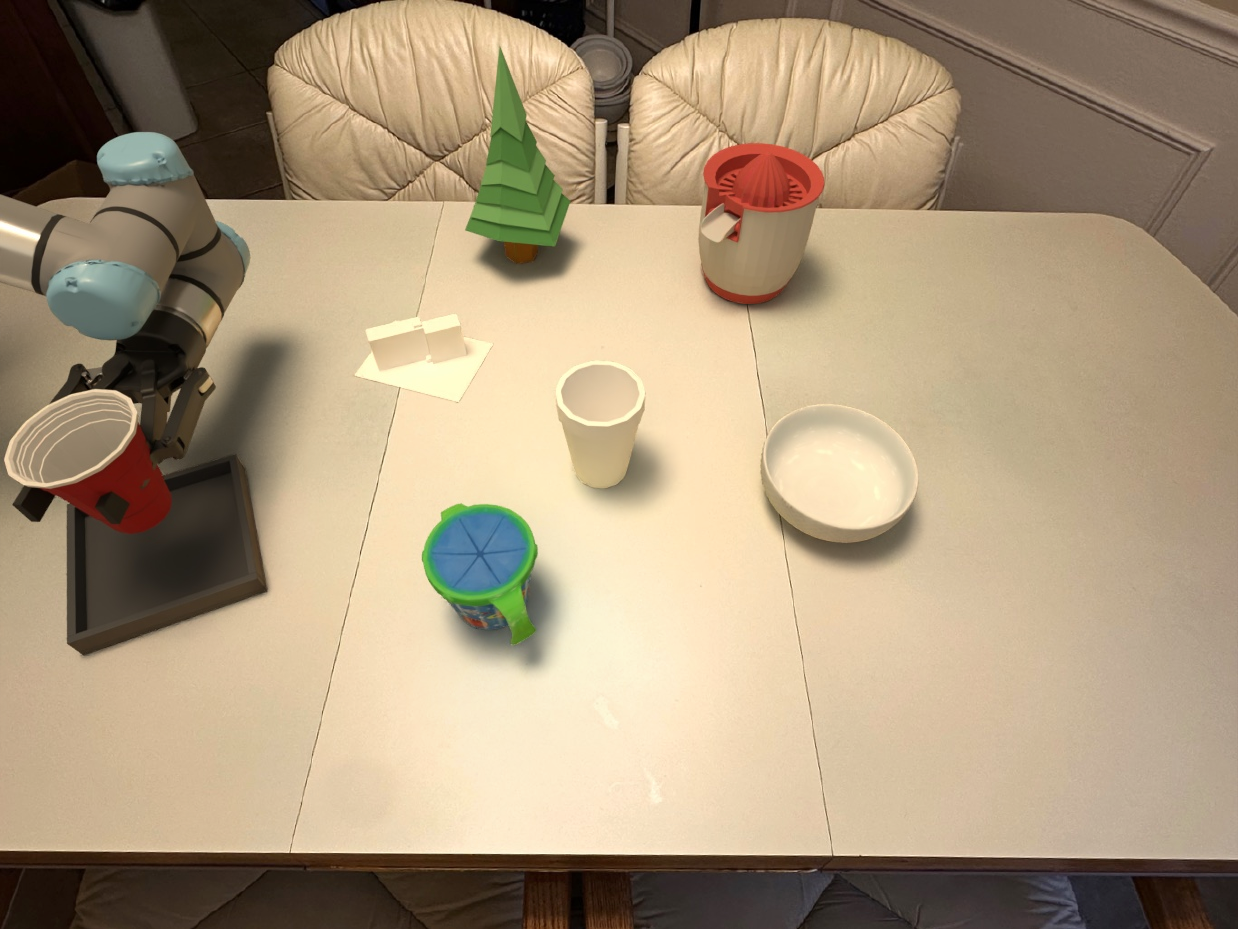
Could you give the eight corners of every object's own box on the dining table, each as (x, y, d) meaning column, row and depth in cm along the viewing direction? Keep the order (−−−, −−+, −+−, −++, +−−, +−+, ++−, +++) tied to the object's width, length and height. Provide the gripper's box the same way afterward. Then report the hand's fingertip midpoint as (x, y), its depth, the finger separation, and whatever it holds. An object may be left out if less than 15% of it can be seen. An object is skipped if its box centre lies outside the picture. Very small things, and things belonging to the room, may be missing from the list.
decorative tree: (582, 273, 110) (576, 64, 86) (477, 290, 107) (440, 79, 83) (562, 220, 118) (552, 14, 94) (463, 234, 115) (426, 27, 91)
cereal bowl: (728, 463, 89) (736, 425, 83) (848, 426, 93) (864, 387, 87) (798, 581, 79) (813, 548, 74) (928, 535, 83) (952, 499, 77)
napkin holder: (353, 376, 96) (340, 344, 92) (393, 320, 103) (383, 287, 98) (459, 402, 94) (452, 370, 89) (494, 342, 101) (488, 310, 96)
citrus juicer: (660, 281, 109) (670, 154, 93) (740, 234, 116) (762, 107, 100) (740, 337, 102) (765, 209, 86) (819, 282, 109) (856, 156, 93)
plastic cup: (102, 467, 76) (30, 387, 67) (210, 464, 77) (154, 384, 67) (60, 560, 70) (-27, 486, 60) (178, 555, 70) (111, 481, 60)
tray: (80, 517, 83) (66, 503, 81) (245, 467, 87) (235, 453, 85) (82, 655, 73) (66, 643, 71) (267, 591, 78) (257, 578, 75)
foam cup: (556, 441, 90) (550, 365, 80) (631, 431, 92) (634, 355, 81) (567, 505, 85) (562, 432, 74) (647, 493, 86) (652, 420, 76)
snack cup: (420, 560, 80) (399, 508, 72) (510, 523, 83) (500, 469, 75) (470, 686, 72) (453, 643, 64) (569, 640, 75) (565, 593, 67)
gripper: (273, 360, 82) (195, 540, 68) (98, 355, 82) (-15, 534, 68) (247, 308, 76) (156, 493, 62) (58, 303, 76) (-75, 486, 62)
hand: (66, 514), depth 65 cm, fingers closed on plastic cup, 6 cm apart
